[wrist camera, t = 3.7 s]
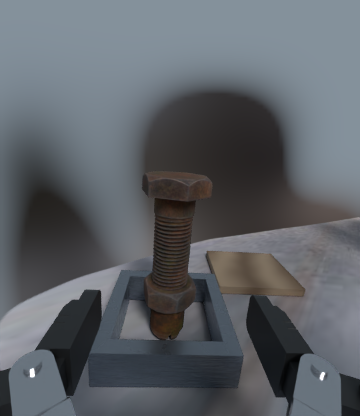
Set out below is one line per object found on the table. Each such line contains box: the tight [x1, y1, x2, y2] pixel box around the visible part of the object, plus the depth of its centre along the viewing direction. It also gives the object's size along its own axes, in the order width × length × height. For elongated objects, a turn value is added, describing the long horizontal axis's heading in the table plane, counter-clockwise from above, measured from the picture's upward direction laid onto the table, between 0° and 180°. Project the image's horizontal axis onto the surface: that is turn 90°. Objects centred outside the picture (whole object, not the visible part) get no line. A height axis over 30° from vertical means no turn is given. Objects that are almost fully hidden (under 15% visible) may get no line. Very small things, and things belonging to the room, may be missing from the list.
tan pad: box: [206, 251, 305, 296], centre depth 33 cm, size 11×10×1 cm
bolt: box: [142, 171, 212, 340], centre depth 20 cm, size 6×5×15 cm
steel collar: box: [88, 270, 243, 388], centre depth 21 cm, size 11×11×3 cm
